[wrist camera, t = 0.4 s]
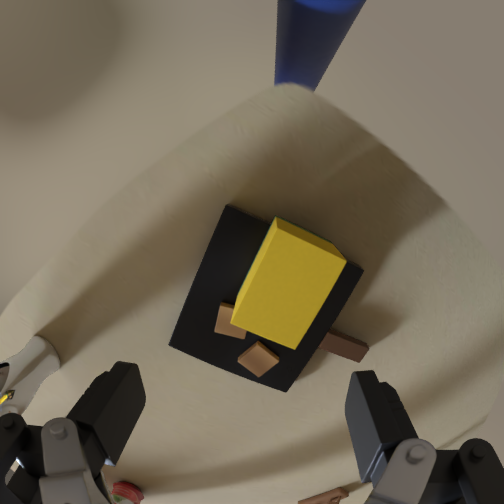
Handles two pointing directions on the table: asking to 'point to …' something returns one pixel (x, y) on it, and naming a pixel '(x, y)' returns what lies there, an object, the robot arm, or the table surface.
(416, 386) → the table surface
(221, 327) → the block
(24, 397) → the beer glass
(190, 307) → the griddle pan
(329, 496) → the film reel ornament
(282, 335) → the sponge
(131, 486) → the liquor
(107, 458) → the robot arm
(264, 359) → the scrap
